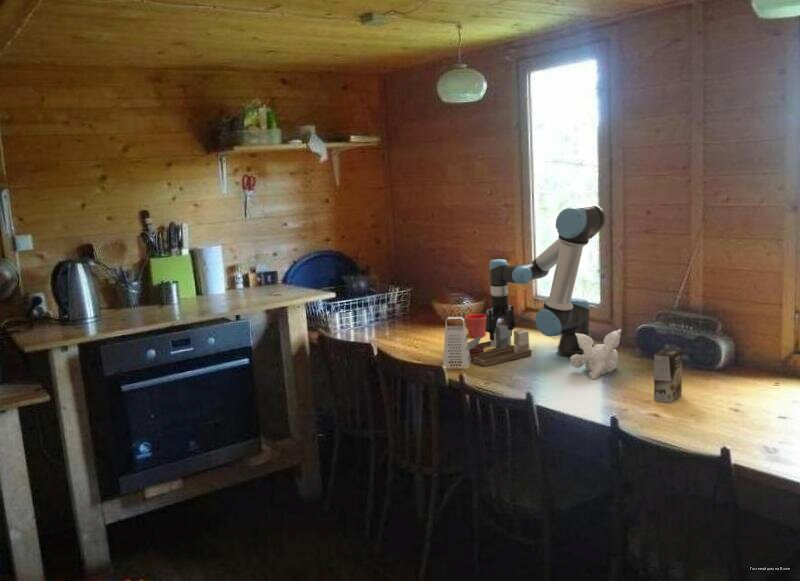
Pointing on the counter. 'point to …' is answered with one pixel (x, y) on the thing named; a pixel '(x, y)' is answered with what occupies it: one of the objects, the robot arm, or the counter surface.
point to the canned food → (473, 348)
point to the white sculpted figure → (597, 354)
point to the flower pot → (476, 325)
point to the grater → (456, 345)
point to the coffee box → (667, 375)
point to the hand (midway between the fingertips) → (501, 345)
